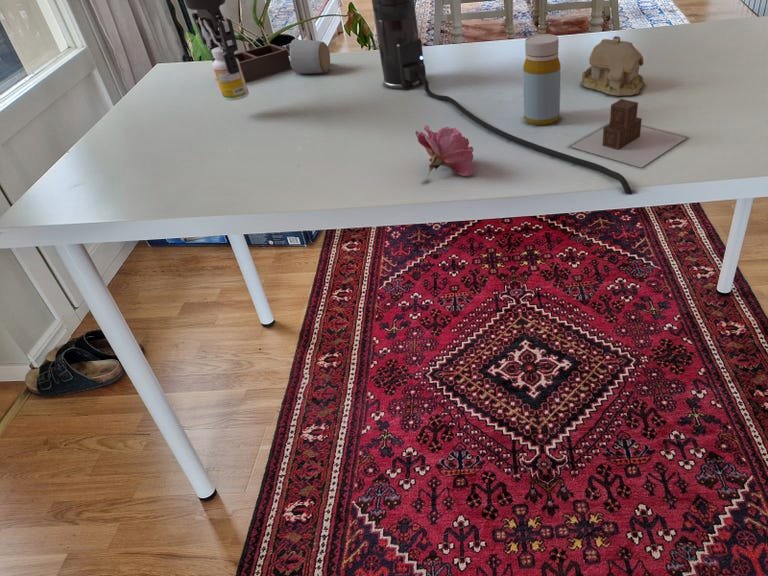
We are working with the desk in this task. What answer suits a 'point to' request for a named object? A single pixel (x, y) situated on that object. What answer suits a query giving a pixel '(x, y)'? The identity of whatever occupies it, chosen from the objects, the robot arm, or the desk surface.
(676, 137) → the stack of crates
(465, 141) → the flower
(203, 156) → the desk surface
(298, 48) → the ceramic mug
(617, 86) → the ceramic model
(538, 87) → the bottle
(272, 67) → the compartment organizer
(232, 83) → the supplement bottle
